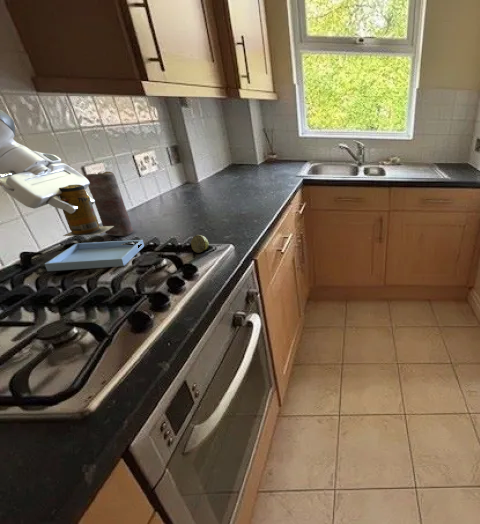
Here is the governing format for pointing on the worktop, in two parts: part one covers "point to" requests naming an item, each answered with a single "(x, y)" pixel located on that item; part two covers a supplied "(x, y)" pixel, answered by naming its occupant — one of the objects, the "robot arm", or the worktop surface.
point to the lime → (199, 243)
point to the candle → (109, 203)
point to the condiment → (81, 212)
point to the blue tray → (94, 255)
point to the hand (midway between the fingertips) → (84, 207)
